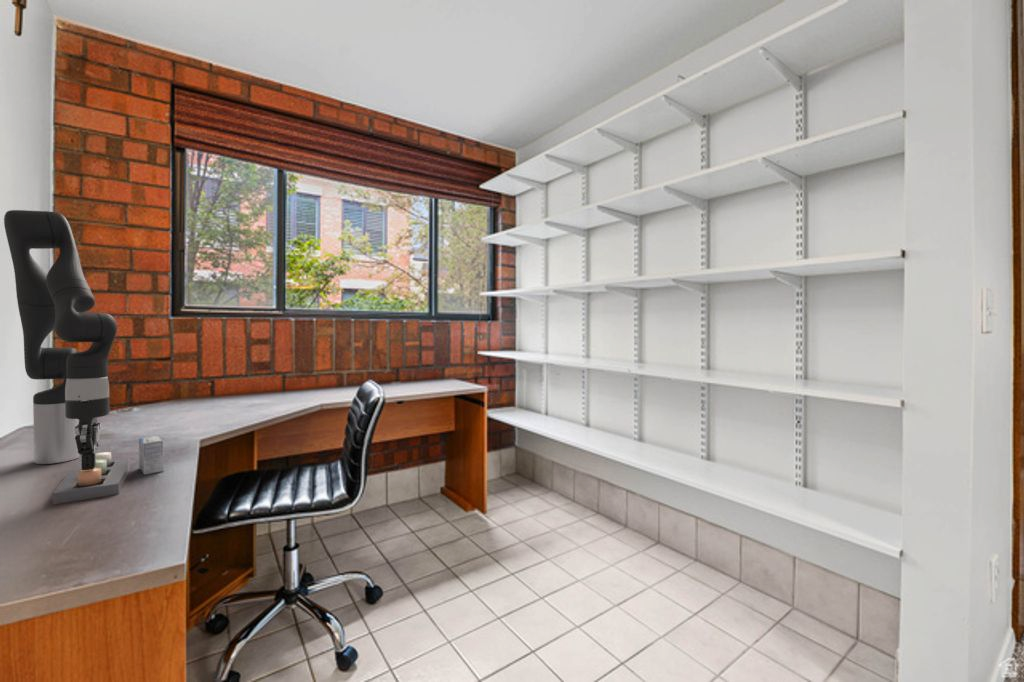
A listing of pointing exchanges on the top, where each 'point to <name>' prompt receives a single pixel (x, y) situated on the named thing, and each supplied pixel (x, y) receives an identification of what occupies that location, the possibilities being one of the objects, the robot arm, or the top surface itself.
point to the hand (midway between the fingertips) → (88, 469)
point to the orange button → (89, 477)
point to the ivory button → (104, 457)
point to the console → (106, 487)
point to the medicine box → (151, 455)
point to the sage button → (101, 465)
